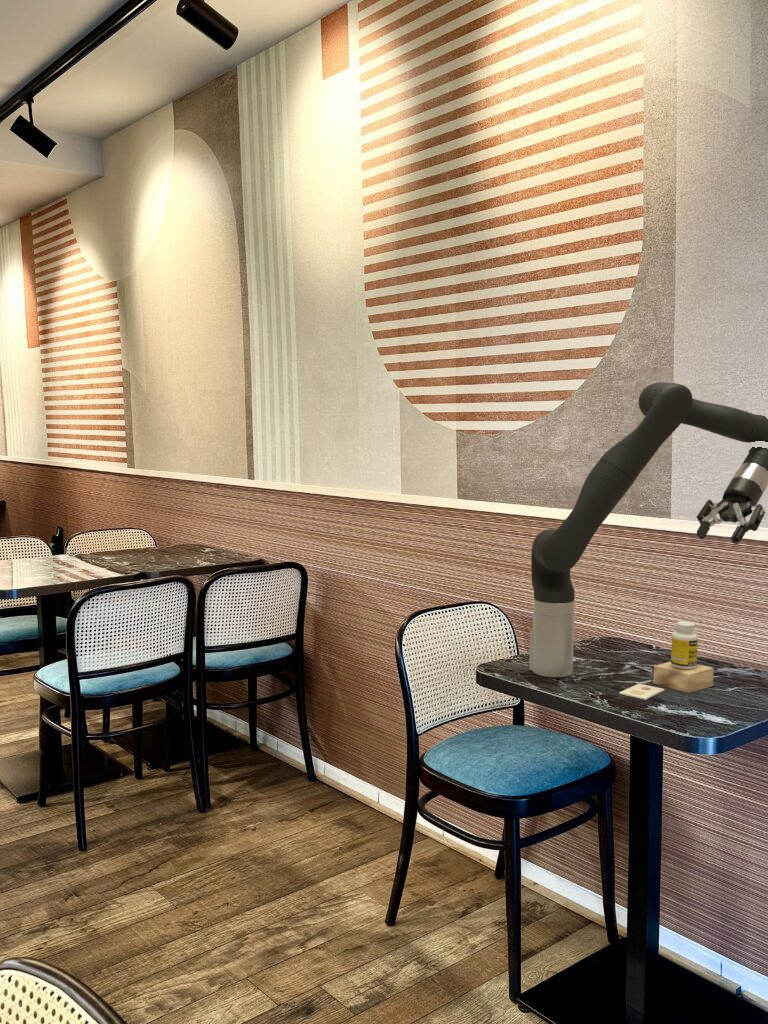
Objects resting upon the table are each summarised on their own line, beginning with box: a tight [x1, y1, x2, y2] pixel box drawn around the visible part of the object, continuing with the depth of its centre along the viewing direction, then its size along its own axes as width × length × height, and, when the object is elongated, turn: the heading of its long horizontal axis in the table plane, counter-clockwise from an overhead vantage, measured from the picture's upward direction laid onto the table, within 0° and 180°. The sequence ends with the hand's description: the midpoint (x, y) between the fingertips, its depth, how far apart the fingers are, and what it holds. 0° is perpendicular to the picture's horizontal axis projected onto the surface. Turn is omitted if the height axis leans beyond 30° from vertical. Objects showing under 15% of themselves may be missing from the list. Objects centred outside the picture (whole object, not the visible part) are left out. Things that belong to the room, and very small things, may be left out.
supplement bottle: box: [670, 621, 699, 669], centre depth 199 cm, size 5×5×10 cm
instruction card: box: [619, 683, 666, 701], centre depth 194 cm, size 6×9×1 cm, turn 137°
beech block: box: [652, 661, 715, 694], centre depth 200 cm, size 9×9×4 cm
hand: (716, 539), depth 203 cm, fingers open, 8 cm apart
